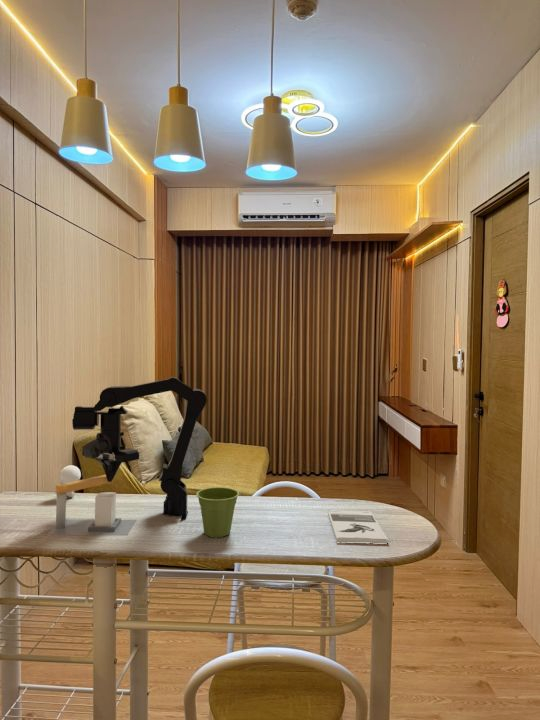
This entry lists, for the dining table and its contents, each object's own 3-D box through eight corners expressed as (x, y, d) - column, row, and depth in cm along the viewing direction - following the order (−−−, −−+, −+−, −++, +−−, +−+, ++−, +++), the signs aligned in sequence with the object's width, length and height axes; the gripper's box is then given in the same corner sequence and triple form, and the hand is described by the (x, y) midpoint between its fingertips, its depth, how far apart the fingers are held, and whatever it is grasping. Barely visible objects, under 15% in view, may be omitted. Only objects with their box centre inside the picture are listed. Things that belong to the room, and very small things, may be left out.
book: (327, 516, 149) (327, 510, 149) (370, 517, 148) (371, 511, 148) (336, 545, 126) (336, 537, 126) (388, 547, 125) (388, 539, 125)
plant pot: (191, 528, 134) (192, 488, 134) (231, 524, 138) (232, 485, 138) (200, 544, 123) (201, 501, 123) (243, 538, 127) (244, 497, 127)
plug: (115, 524, 133) (116, 492, 133) (110, 529, 128) (111, 497, 128) (99, 524, 132) (100, 492, 132) (94, 529, 128) (95, 496, 128)
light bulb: (75, 501, 156) (75, 468, 155) (55, 500, 156) (56, 467, 156) (83, 495, 162) (84, 463, 162) (64, 494, 162) (65, 463, 162)
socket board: (137, 523, 137) (137, 487, 137) (127, 538, 125) (128, 500, 125) (63, 522, 135) (63, 487, 135) (46, 538, 123) (47, 499, 123)
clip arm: (59, 494, 127) (59, 487, 127) (53, 492, 129) (53, 485, 129) (114, 482, 142) (114, 475, 142) (108, 480, 143) (108, 473, 143)
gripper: (66, 429, 137) (66, 483, 137) (110, 435, 128) (109, 493, 128) (98, 425, 147) (97, 475, 147) (140, 430, 137) (140, 484, 137)
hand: (110, 481), depth 139 cm, fingers closed
